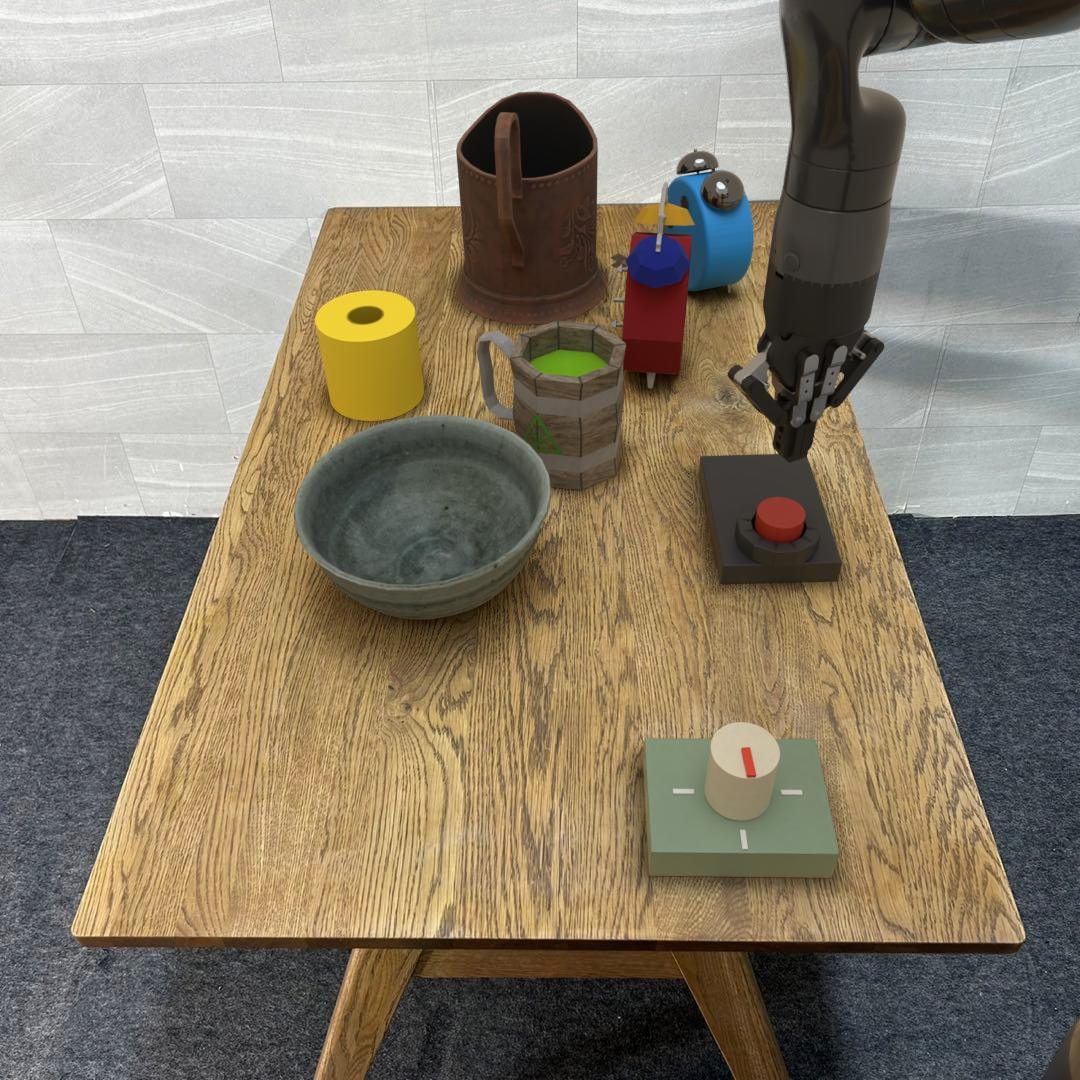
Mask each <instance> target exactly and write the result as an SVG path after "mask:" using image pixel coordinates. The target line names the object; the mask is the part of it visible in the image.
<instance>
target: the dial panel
mask: <svg viewBox="0 0 1080 1080" xmlns="http://www.w3.org/2000/svg"><path fill="white" fill-rule="evenodd" d="M711 740H712V738H686V737H685V738H682V737H681V738H677V737H676V738H674V737H673V738H671V737H667V738H665V737H661V738H660V737H659V738H658V737H645V738H644V740H643V754H642V775H643V792H644V793H643V794H644V795H643V796H644V810H645V811H644V812H645V828H646V845H647V847H646V848H647V863H648V866H647V867H648V875H649V877H713V878H714V877H715V878H716V877H719V878H720V877H721V878H722V877H723V878H727V877H729V878H804V879H805V878H806V879H807V878H809V879H810V878H812V879H815V878H816V879H832V878H833V875H834V872H835V869H836V867H837V862H838V860H839V857H840V849H839V844H838V839H837V834H836V831H835V825H834V821H833V816H832V810H831V806H830V800H829V797H828V792H827V787H826V781H825V776H824V772H823V766H822V762H821V758H820V753H819V752H820V751H819V747H818V743H817V739H813V738H812V739H810V738H809V739H808V738H807V739H806V738H803V739H802V738H801V739H800V738H788V739H787V738H775V740H776V741H777V743H778V746H779V749H780V759H779V764H778V768H777V773H776V777H775V782H774V786H773V791H772V795H771V800H770V803H769V806H768V808H767V809H766V811H765V812H764V813H763V814H761V815H760V816H758V817H756V818H754V819H751V820H746V821H737V820H732V819H728V818H726V817H724V816H722V815H720V814H718V813H717V812H716V811H715V810H714V809H713V808H712V807H711V806H710V805H709V803H708V801H707V799H706V796H705V791H704V787H705V780H706V773H707V766H708V759H709V752H710V745H711Z"/></svg>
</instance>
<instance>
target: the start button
mask: <svg viewBox="0 0 1080 1080" xmlns="http://www.w3.org/2000/svg"><path fill="white" fill-rule="evenodd" d="M804 521H805V511H804V509H803V507H802V506H801V505H800V504H799V503H797V502H795V501H793V500H791V499H788V498H783V497H773V498H768V499H766V500H764V501H762V502H761V503H760V504H759V506H758V508H757V513H756V519H755V529H756V531H757V533H758V534H759V535H760V536H761V537H762V538H764V539H766V540H769V541H773V542H776V543H788V542H792V541H795V540H797V539H798V538H799V537H800V536H801V534H802V531H803V526H804Z"/></svg>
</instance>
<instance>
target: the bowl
mask: <svg viewBox="0 0 1080 1080" xmlns="http://www.w3.org/2000/svg"><path fill="white" fill-rule="evenodd" d="M551 499H552V487H551V485H550V477H549V474H548V472H547V470H546V468H545V465H544V463H543V461H542V459H541V458H540V457H539V456H538V454H537V453H536V452H535V451H534V450H533V449H532V447H531V446H530V445H529V444H527V443H526V442H525V441H524V440H522V439H521V438H520V437H518V436H517V435H516V433H515V432H513V431H510V430H508V429H506V428H504V427H502V426H500V425H498V424H496V423H493V422H489V421H485V420H481V419H478V418H474V417H469V416H461V415H454V414H453V415H452V414H432V415H428V414H427V415H419V416H412V417H405V418H399V419H398V418H397V419H395V420H391V421H388V422H383V423H379V424H375V425H373V426H370V427H368V428H365V429H363V430H361V431H358V432H356V433H353V434H351V435H350V436H348V437H347V438H345V439H344V440H342V441H340V442H339V443H337V444H336V445H334V446H333V447H331V449H329V450H328V451H327V452H326V453H325V454H323V455H322V456H321V457H320V458H319V459H318V460H316V462H315V463H314V464H313V466H312V467H311V468H310V469H309V471H308V472H307V473H306V475H305V476H304V477H303V479H302V481H301V483H300V486H299V488H298V490H297V493H296V495H295V501H294V508H293V509H294V510H293V521H294V527H295V528H294V529H295V533H296V536H297V537H298V540H299V542H300V544H301V546H302V549H303V550H304V551H305V552H306V553H307V554H308V555H309V556H310V557H311V558H312V559H313V560H314V562H315V563H316V564H317V565H318V567H319V568H320V569H321V571H322V572H323V573H324V575H326V576H327V578H328V579H329V580H330V581H331V582H332V583H333V584H334V585H335V586H336V587H337V588H338V590H339V591H340V592H342V594H344V595H346V596H347V597H349V598H351V599H352V600H354V601H355V602H356V603H358V604H360V605H362V606H364V607H367V608H369V609H372V610H374V611H377V612H379V613H382V614H384V615H387V616H390V617H395V618H401V619H405V620H435V619H440V618H447V617H452V616H455V615H458V614H461V613H465V612H468V611H471V610H473V609H475V608H477V607H479V606H481V605H484V604H486V603H487V602H489V601H491V600H492V599H494V597H496V596H498V594H500V593H501V592H502V591H503V590H504V589H506V588H507V587H508V586H509V585H510V584H511V582H513V580H514V579H515V577H517V575H518V574H519V573H520V572H521V571H522V569H523V568H524V567H525V565H526V563H527V561H528V560H529V558H530V557H531V554H532V552H533V550H534V548H535V546H536V544H537V542H538V540H539V537H540V535H541V530H542V526H543V524H544V522H545V520H546V518H547V516H548V514H549V510H550V504H551Z"/></svg>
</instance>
